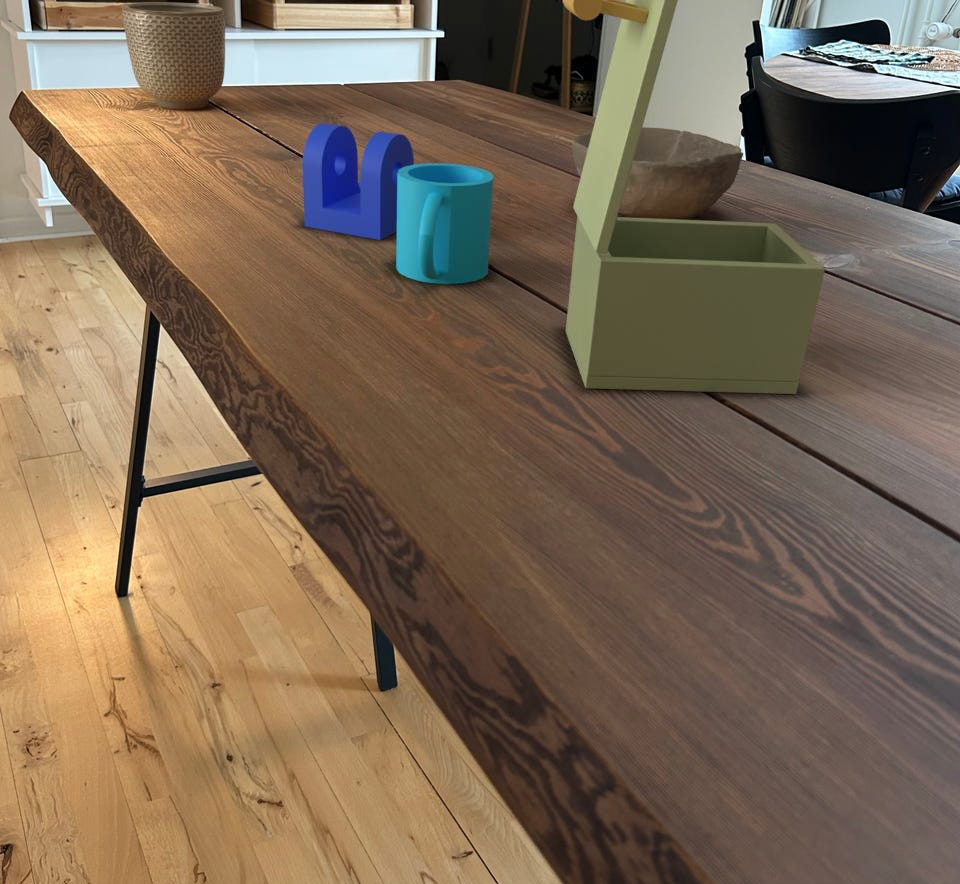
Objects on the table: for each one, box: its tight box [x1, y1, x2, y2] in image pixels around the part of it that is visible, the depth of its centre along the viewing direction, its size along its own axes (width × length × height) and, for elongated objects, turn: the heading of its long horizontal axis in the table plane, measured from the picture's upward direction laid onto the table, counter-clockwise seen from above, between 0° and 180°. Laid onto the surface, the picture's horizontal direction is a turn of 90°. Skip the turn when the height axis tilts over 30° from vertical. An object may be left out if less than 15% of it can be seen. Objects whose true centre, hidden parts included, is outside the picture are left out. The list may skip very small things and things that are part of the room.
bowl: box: [571, 126, 744, 220], centre depth 109 cm, size 18×18×8 cm
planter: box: [121, 1, 226, 111], centre depth 147 cm, size 14×14×13 cm
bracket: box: [302, 122, 415, 241], centre depth 104 cm, size 18×8×9 cm, turn 157°
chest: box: [565, 215, 826, 395], centre depth 73 cm, size 15×11×9 cm
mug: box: [395, 162, 494, 285], centre depth 87 cm, size 12×8×8 cm
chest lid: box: [562, 0, 679, 254], centre depth 66 cm, size 16×11×5 cm
